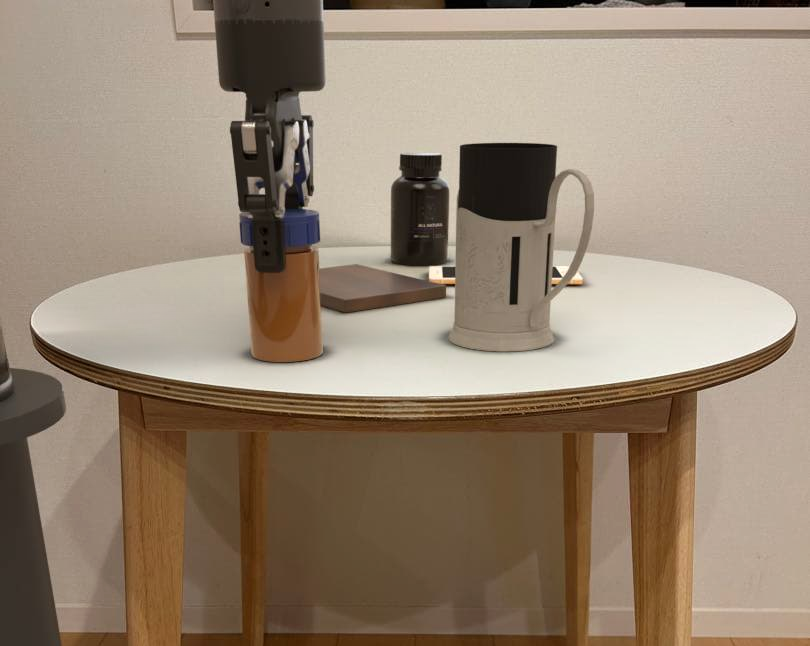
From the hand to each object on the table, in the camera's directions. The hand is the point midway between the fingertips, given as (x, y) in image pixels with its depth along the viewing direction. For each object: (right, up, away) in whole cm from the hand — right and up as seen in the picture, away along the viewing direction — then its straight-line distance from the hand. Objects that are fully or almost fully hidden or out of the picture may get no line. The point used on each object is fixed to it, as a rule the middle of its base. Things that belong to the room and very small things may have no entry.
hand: (282, 263), depth 77 cm
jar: (0, -6, +3) cm, 7 cm away
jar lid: (0, +3, -1) cm, 3 cm away
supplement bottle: (+11, +12, +43) cm, 46 cm away
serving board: (+4, +4, +26) cm, 26 cm away
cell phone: (+20, +7, +32) cm, 38 cm away
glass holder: (+19, -5, +5) cm, 20 cm away
